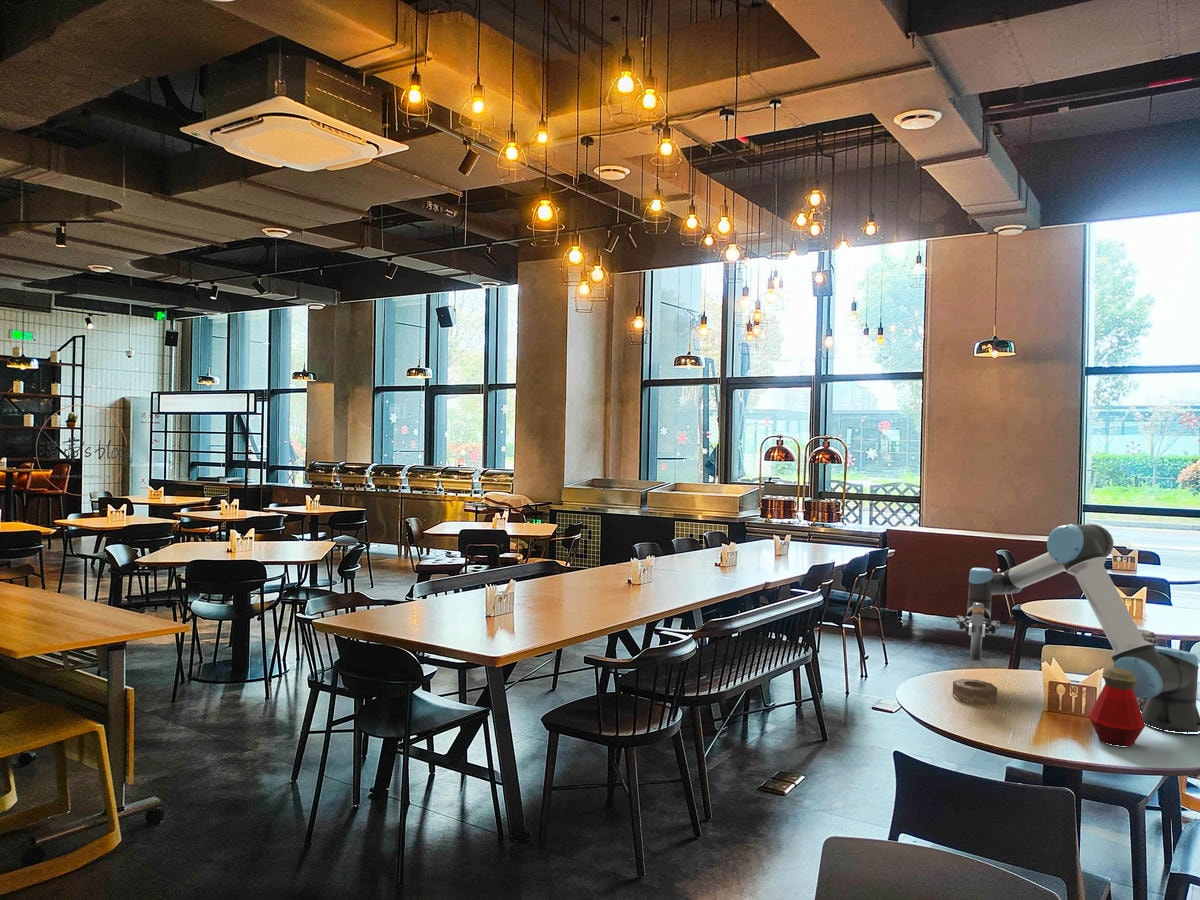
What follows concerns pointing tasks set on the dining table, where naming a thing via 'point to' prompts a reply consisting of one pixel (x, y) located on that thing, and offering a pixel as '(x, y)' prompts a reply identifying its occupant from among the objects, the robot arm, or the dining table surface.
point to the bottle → (1117, 709)
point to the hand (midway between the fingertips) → (976, 631)
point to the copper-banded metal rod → (976, 631)
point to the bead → (975, 691)
